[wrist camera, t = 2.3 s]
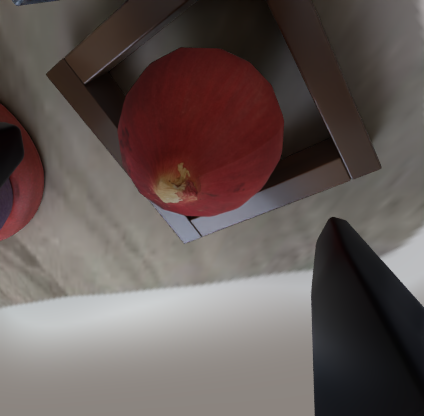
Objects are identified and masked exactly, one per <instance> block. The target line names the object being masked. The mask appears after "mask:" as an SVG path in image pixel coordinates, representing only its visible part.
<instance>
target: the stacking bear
mask: <svg viewBox="0 0 424 416" xmlns="http://www.w3.org/2000/svg"><path fill="white" fill-rule="evenodd" d="M0 122H6V123H10V124H13V125H16V126H18V127H19V128H20V130H21V134H22V140H23V146H24V158H23V160H22V161H21V163H20V164H19V165H18V166H17V168H16V169H15V170H14V172H13V173H12V174H11V175H10V177H9V178H8V179H7V181H6V182H5V183H4V184H3V186H2V187H1V188H0V241H1V240H3V239H6V238H8V237H10V236H12V235H13V234H15V233H16V232H18V231H19V230H21V229H22V228H23V227H24V226H25V225H26V224H28V223H29V221H30V220H31V219H32V218H33V217H34V215H35V213H36V212H37V210H38V207H39V205H40V203H41V200H42V195H43V189H44V171H43V166H42V163H41V160H40V156H39V154H38V152H37V149H36V147H35V145H34V144H33V142H32V140H31V138H30V136H29V135H28V133H27V132H26V130H25V129H24V128H23V126H22V125H21V124H20V123H19V122H18V120H17V119H16V118H15V117H14V116H13V115H12V114H11V113H10V112H9V111H8V110H7V109H6V108H5V107H4V106H3V105H2V104H1V103H0Z"/></svg>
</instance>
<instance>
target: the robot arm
mask: <svg viewBox="0 0 424 416" xmlns="http://www.w3.org/2000/svg"><path fill="white" fill-rule="evenodd" d="M23 158H24V146H23V140H22V134H21V130H20V128H19V127H18V126H16V125H13V124H10V123H6V122H0V188H1V187H2V186H3V184H4V183H5V182H6V181H7V179H8V178H9V177H10V175H11V174H12V173H13V172H14V170H15V169H16V168H17V166H18V165H19V164H20V163H21V161H22V160H23ZM311 301H312V303H311V305H312V337H313V371H314V404H315V416H424V307H423V306H422V305H421V304H420V302H419V301H418V300H417V299H416V298H415V297H414V296H413V295H412V294H411V292H410V291H409V290H408V289H407V288H406V287H405V286H404V285H403V283H402V282H400V280H399V279H398V278H397V277H396V276H395V275H394V273H393V272H392V271H391V270H390V269H389V268H388V267H387V266H386V264H385V263H384V262H383V261H382V260H381V259H380V258H379V257H378V256H377V254H376V253H375V252H374V251H373V250H372V249H371V248H370V247H369V245H368V244H367V243H366V242H365V241H364V240H363V239H362V238H361V237H360V235H359V234H358V233H357V232H356V231H355V230H354V229H353V228H352V226H351V225H350V224H349V223H348V222H347V221H346V220H343V219H339V218H336V217H331V218H330V219H329V220H328V221H327V223H326V225H325V227H324V228H323V230H322V232H321V234H320V236H319V238H318V240H317V243H316V249H315V259H314V269H313V279H312V292H311Z"/></svg>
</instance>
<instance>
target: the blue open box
mask: <svg viewBox="0 0 424 416" xmlns="http://www.w3.org/2000/svg"><path fill="white" fill-rule="evenodd" d="M51 1H58V0H12V2H13V3H14V4H15V5H16V6H21V5H28V4H36V3H43V2H51Z"/></svg>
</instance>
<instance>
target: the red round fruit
mask: <svg viewBox="0 0 424 416" xmlns="http://www.w3.org/2000/svg"><path fill="white" fill-rule="evenodd" d="M283 131H284V119H283V115H282V112H281V109H280V106H279V104H278V101H277V98H276V96H275V93H274V90H273V88H272V85H271V84H270V83H269V82H268V81H267V80H266V79H265V78H264V77H263V76H262V75H261V74H260V73H259V71H258V70H257V69H256V68H255V67H254V66H253V65H252V64H251V63H250V62H248V61H246V60H244V59H242V58H240V57H238V56H235V55H233V54H231V53H229V52H227V51H225V50H223V49H217V48H184V47H180V48H178V49H177V50H175V51H173V52H171V53H169V54H167V55H165V56H163V57H161V58H159V59H158V60H156V61H154V62H152V63H151V64H150V65H149V66H148V67H147V68H146V69H145V70H144V71H143V73H142V74H141V76H140V77H139V78H138V80H137V81H136V82H135V84H134V85H133V86H132V88H131V89H130V91H129V92H128V93H127V95H126V97H125V101H124V104H123V108H122V113H121V117H120V120H119V125H118V131H117V132H118V139H119V145H120V152H121V158H122V164H123V167H124V168H125V170H126V171H127V173H128V175H129V176H130V178H131V179H132V181H133V183H134V184H135V186H136V187H137V189H138V191H139V192H140V193H141V194H142V195H143V196H145V197H146V198H147V199H149V200H150V201H152V202H153V203H154V204H156V205H157V206H158V207H160V208H161V209H163V210H167V211H171V212H174V213H178V214H181V215H184V216H202V217H212V216H216V215H219V214H222V213H225V212H228V211H232V210H235V209H237V208H239V207H240V206H242V205H243V204H244V203H246V202H247V201H248V200H249V199H250V198H251V197H253V196H254V195H255V194H256V193H257V192H259V191H260V190H261V188H262V187H263V186H264V185H265V184H266V182H267V180H268V179H269V177H270V175H271V174H272V172H273V170H274V169H275V167H276V165H277V164H278V162H279V160H280V157H281V153H282V147H283Z"/></svg>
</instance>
